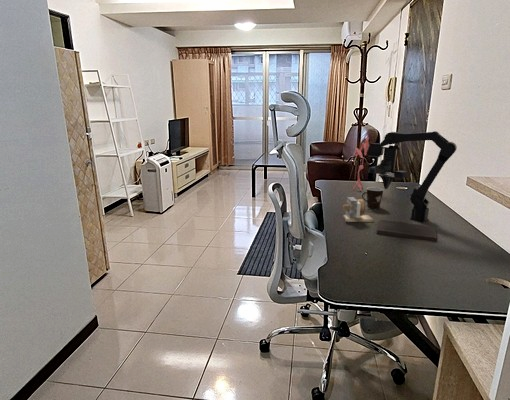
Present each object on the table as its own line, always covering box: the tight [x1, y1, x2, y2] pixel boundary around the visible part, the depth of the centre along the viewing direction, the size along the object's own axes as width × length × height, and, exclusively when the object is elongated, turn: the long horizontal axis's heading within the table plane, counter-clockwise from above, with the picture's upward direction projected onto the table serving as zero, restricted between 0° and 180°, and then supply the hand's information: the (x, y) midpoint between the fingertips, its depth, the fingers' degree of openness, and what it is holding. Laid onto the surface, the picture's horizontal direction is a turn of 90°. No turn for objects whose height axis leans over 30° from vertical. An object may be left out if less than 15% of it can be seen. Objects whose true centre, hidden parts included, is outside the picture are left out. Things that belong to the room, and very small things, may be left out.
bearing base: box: [342, 196, 374, 223], centre depth 168 cm, size 12×7×10 cm, turn 91°
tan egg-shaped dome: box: [342, 198, 366, 216], centre depth 168 cm, size 9×8×8 cm
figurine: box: [352, 136, 371, 191], centre depth 229 cm, size 15×26×35 cm, turn 158°
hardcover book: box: [376, 219, 438, 243], centre depth 153 cm, size 16×23×2 cm
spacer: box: [356, 202, 361, 218], centre depth 168 cm, size 2×7×7 cm, turn 2°
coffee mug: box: [361, 186, 384, 209], centre depth 191 cm, size 12×9×10 cm
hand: (385, 189), depth 176 cm, fingers closed
